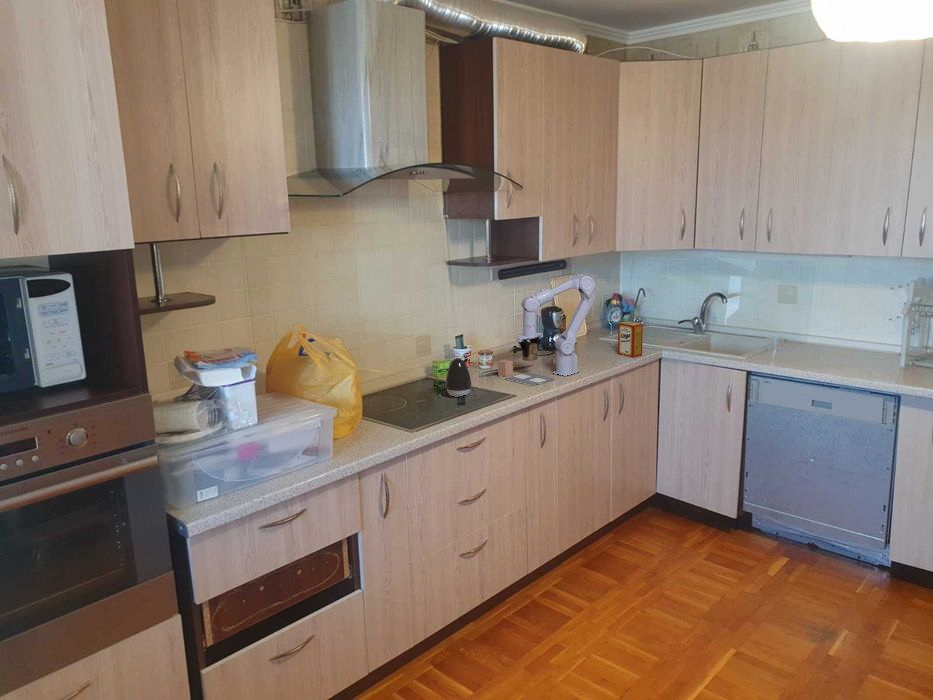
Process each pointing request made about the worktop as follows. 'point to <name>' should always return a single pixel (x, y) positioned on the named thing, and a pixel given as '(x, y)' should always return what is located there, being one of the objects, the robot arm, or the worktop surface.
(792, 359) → the worktop surface
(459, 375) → the black egg-shaped speaker
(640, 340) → the baking soda box
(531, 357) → the walnut pillar
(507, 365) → the terracotta pillar
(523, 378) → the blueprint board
